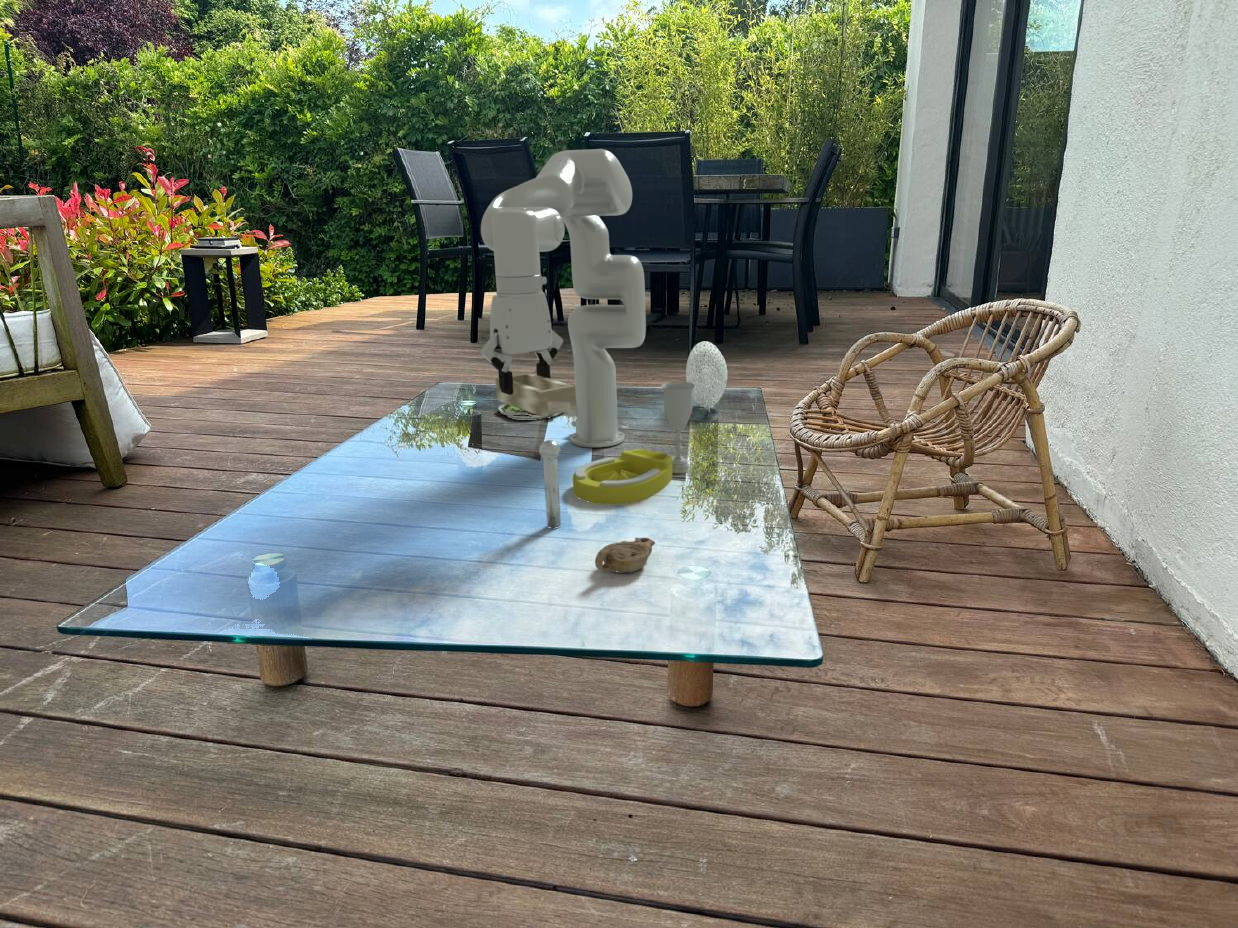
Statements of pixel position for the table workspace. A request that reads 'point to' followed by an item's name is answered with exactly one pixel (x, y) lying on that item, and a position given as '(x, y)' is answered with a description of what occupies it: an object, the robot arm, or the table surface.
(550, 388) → the link
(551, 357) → the robot arm
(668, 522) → the table surface
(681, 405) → the chalice
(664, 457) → the yellow-green spoked oval frame
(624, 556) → the oil lamp
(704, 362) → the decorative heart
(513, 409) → the salad plate
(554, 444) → the silver metal pin
